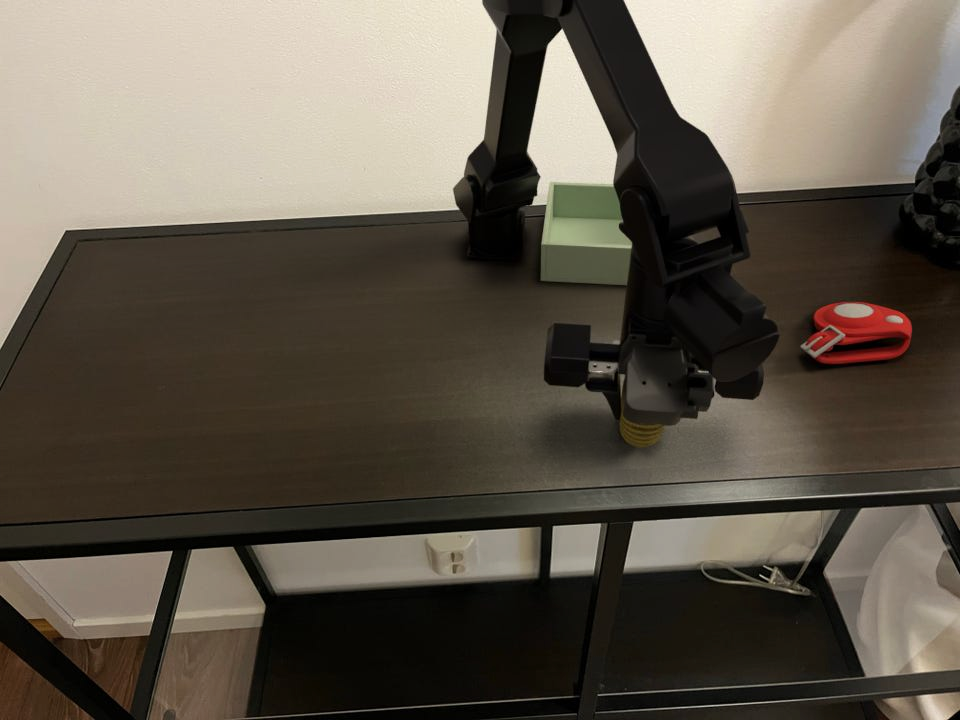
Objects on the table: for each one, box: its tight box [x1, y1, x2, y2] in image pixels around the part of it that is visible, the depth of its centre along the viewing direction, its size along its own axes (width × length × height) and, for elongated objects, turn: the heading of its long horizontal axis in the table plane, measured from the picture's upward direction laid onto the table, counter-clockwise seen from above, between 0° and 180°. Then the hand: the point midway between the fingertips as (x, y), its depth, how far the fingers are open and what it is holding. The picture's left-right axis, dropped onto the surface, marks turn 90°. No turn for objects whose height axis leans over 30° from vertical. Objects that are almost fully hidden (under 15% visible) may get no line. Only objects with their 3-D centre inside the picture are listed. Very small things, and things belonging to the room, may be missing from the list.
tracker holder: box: [800, 301, 913, 365], centre depth 80 cm, size 12×4×10 cm
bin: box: [540, 181, 632, 286], centre depth 93 cm, size 13×13×6 cm
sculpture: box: [618, 380, 665, 448], centre depth 71 cm, size 8×4×8 cm, turn 170°
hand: (640, 418), depth 73 cm, fingers closed on sculpture, 4 cm apart
